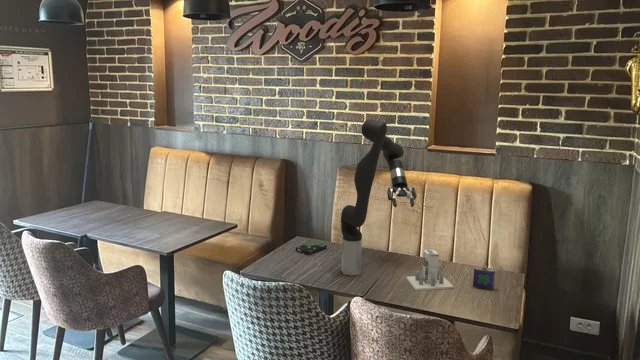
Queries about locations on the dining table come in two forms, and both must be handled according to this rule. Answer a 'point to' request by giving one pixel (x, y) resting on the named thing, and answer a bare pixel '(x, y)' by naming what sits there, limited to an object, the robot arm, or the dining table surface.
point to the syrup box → (430, 265)
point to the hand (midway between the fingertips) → (404, 206)
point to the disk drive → (311, 248)
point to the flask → (484, 278)
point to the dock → (421, 285)
